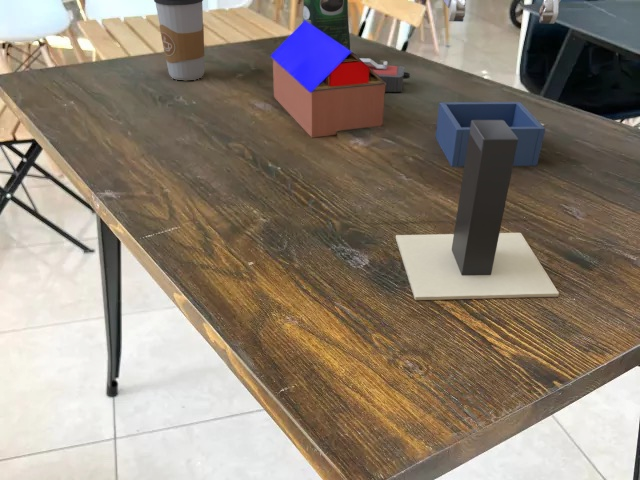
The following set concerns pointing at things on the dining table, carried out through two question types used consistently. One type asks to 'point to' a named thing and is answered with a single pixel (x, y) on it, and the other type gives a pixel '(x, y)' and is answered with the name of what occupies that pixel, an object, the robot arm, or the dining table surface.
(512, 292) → the mat
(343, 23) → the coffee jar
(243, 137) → the dining table surface
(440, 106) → the box
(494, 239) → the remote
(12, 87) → the dining table surface
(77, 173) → the dining table surface
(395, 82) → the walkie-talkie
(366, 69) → the house
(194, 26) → the coffee cup
